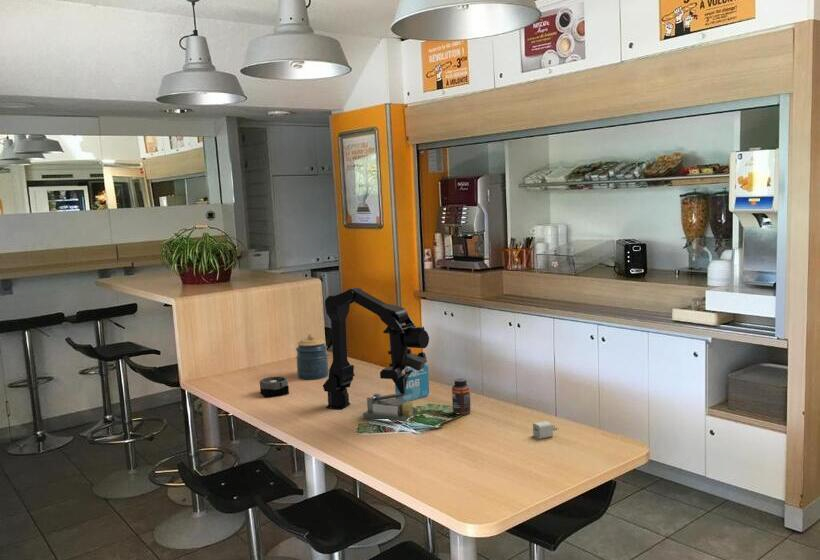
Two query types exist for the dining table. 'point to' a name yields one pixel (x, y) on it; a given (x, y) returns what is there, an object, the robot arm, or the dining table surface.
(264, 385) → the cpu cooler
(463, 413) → the supplement bottle
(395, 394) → the dark grey bar
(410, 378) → the data package
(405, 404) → the heatsink
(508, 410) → the dining table surface
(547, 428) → the usb wall charger
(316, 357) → the canister
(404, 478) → the dining table surface
